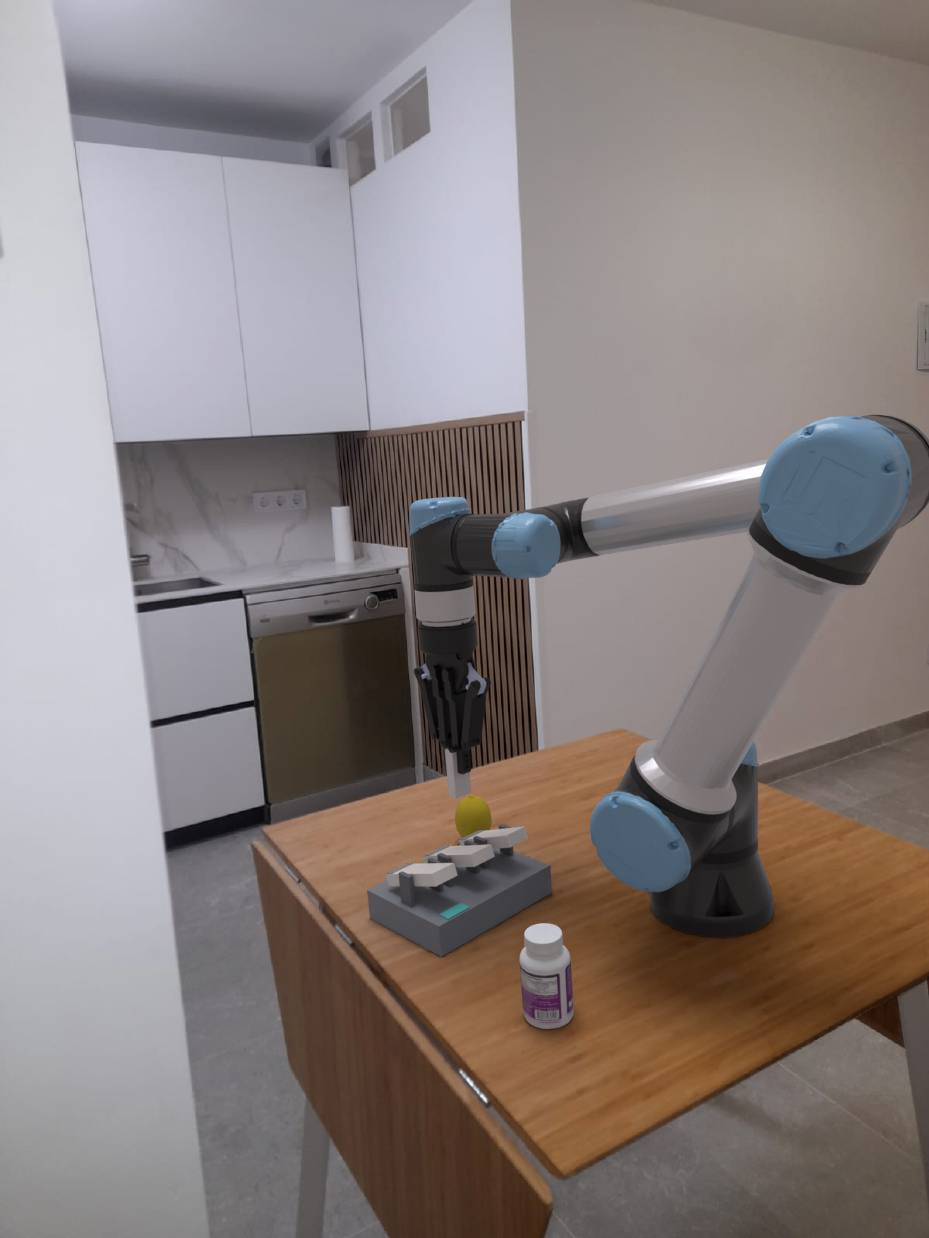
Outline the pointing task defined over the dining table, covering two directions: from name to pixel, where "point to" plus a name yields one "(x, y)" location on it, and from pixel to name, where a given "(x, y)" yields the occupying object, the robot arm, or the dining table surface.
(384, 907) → the console
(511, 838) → the rocker
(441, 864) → the rocker
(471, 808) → the lemon
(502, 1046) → the dining table surface
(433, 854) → the rocker
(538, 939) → the pill bottle
